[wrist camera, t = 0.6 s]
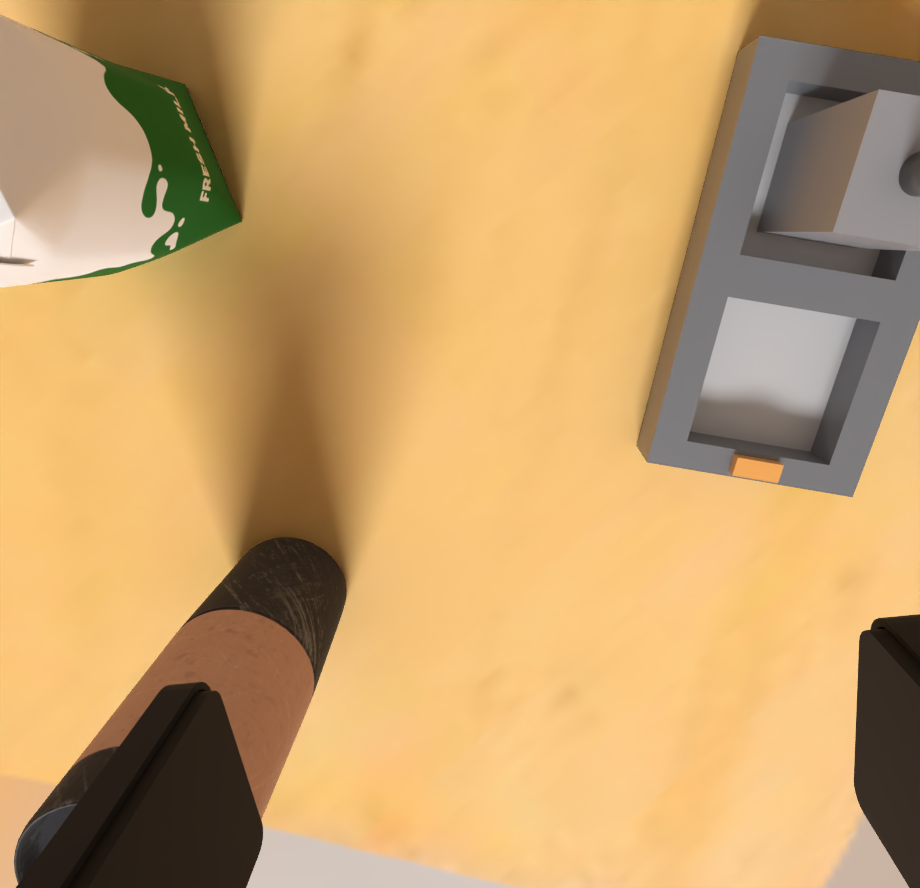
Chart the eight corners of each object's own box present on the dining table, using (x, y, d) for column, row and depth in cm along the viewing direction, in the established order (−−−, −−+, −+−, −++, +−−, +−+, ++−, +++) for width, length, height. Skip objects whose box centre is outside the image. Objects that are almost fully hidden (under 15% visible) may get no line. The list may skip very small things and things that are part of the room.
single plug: (787, 123, 31) (911, 76, 22) (891, 140, 31) (1060, 101, 22) (756, 231, 33) (859, 232, 24) (855, 248, 33) (997, 255, 24)
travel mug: (218, 540, 41) (-25, 807, 22) (336, 525, 40) (190, 789, 21) (249, 644, 43) (53, 969, 24) (362, 632, 42) (250, 957, 23)
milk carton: (42, 123, 34) (-535, -11, 15) (196, 57, 33) (-227, -184, 14) (121, 288, 36) (-292, 350, 17) (267, 232, 35) (-8, 234, 16)
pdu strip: (738, 51, 31) (765, 31, 28) (967, 89, 31) (1021, 73, 28) (636, 445, 37) (649, 466, 34) (827, 478, 37) (858, 501, 34)
